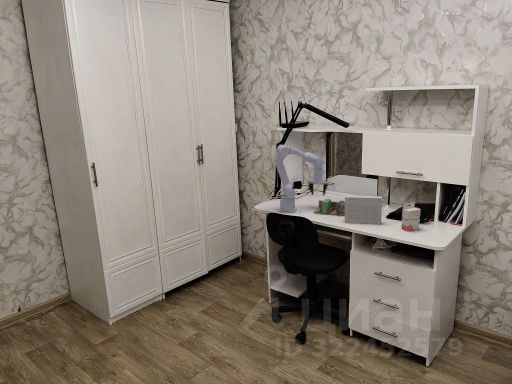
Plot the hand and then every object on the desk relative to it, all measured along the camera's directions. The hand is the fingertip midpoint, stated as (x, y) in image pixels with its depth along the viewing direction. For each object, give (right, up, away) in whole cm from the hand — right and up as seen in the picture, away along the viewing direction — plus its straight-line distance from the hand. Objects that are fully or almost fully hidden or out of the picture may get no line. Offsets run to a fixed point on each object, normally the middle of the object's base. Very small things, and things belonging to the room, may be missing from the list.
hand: (318, 194), depth 269 cm
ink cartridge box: (+45, -19, -45) cm, 66 cm away
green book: (+4, -10, -8) cm, 14 cm away
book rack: (+7, -11, -8) cm, 16 cm away
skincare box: (+22, -16, -30) cm, 41 cm away
